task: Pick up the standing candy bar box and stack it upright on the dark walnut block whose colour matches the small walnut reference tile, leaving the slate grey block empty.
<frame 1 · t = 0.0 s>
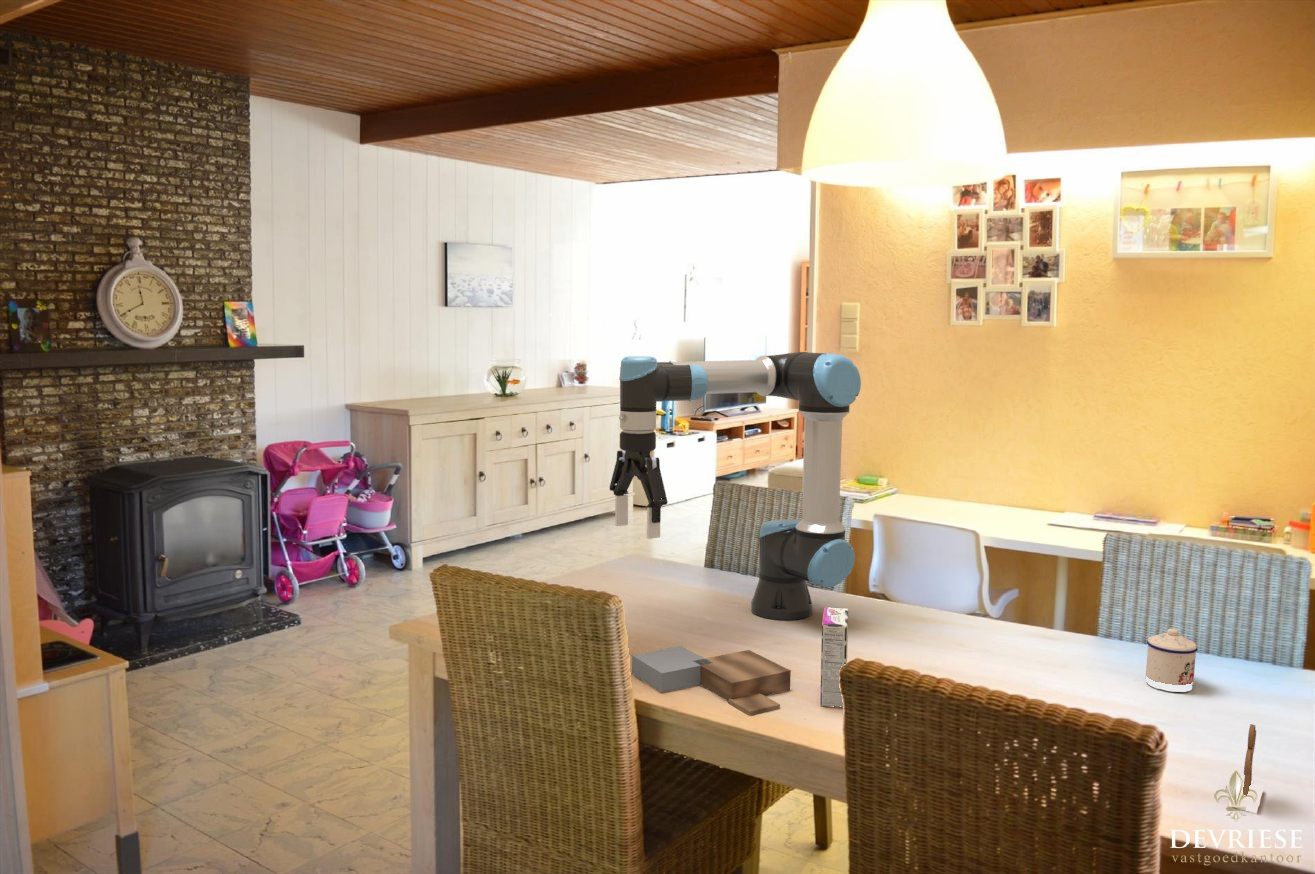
hand: (637, 531, 212), 28 cm above the table, tool pointing down, fingers open, 13 cm apart
walnut block: (740, 684, 202), on the table
gingerbread man figurine: (1245, 800, 156), on the table
slate grey block: (671, 677, 205), on the table
reference tile: (753, 705, 191), on the table
candy bar box: (832, 698, 196), on the table
teacup with lid: (1170, 684, 205), on the table
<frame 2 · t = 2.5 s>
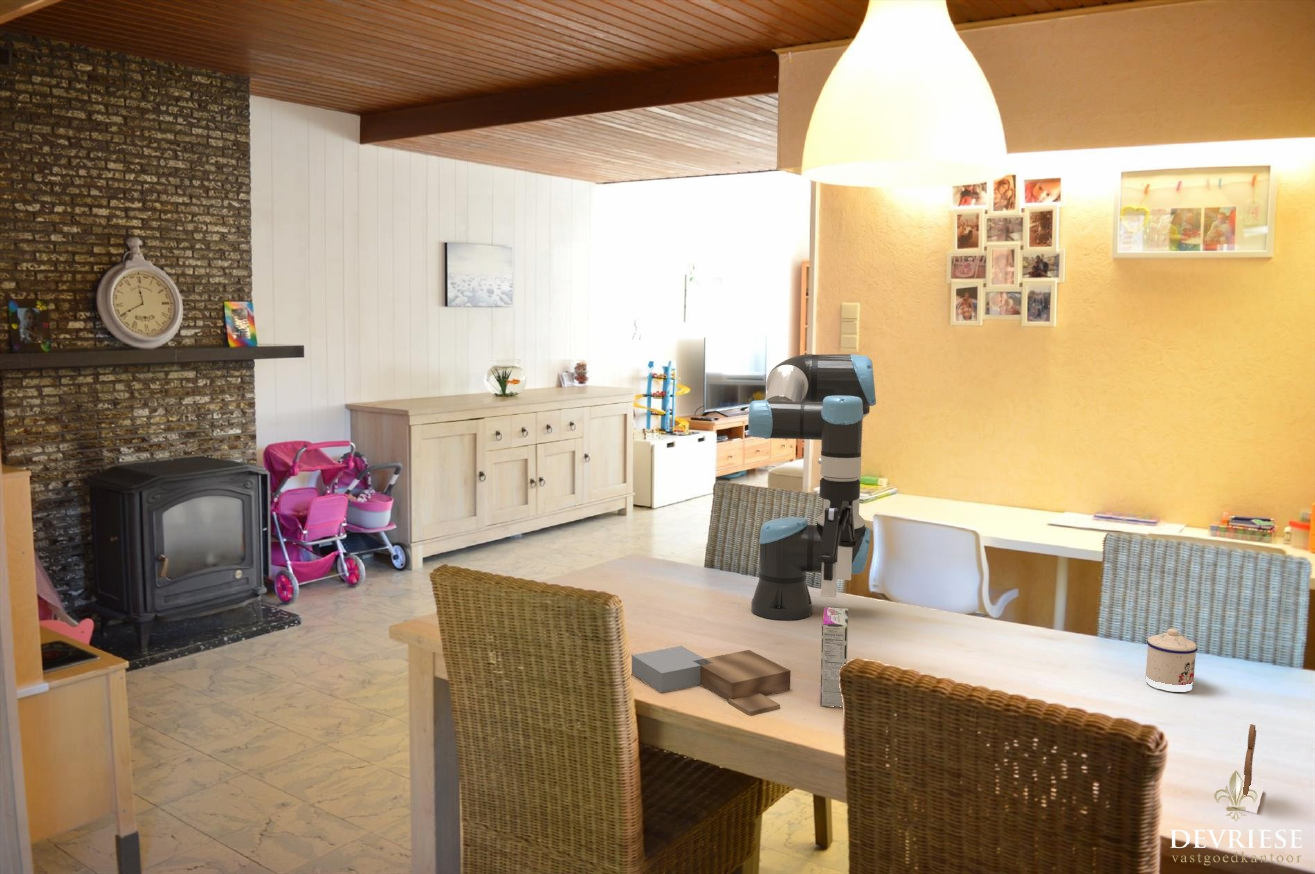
hand: (836, 587, 193), 22 cm above the table, tool pointing down, fingers open, 13 cm apart
nothing on the table moved.
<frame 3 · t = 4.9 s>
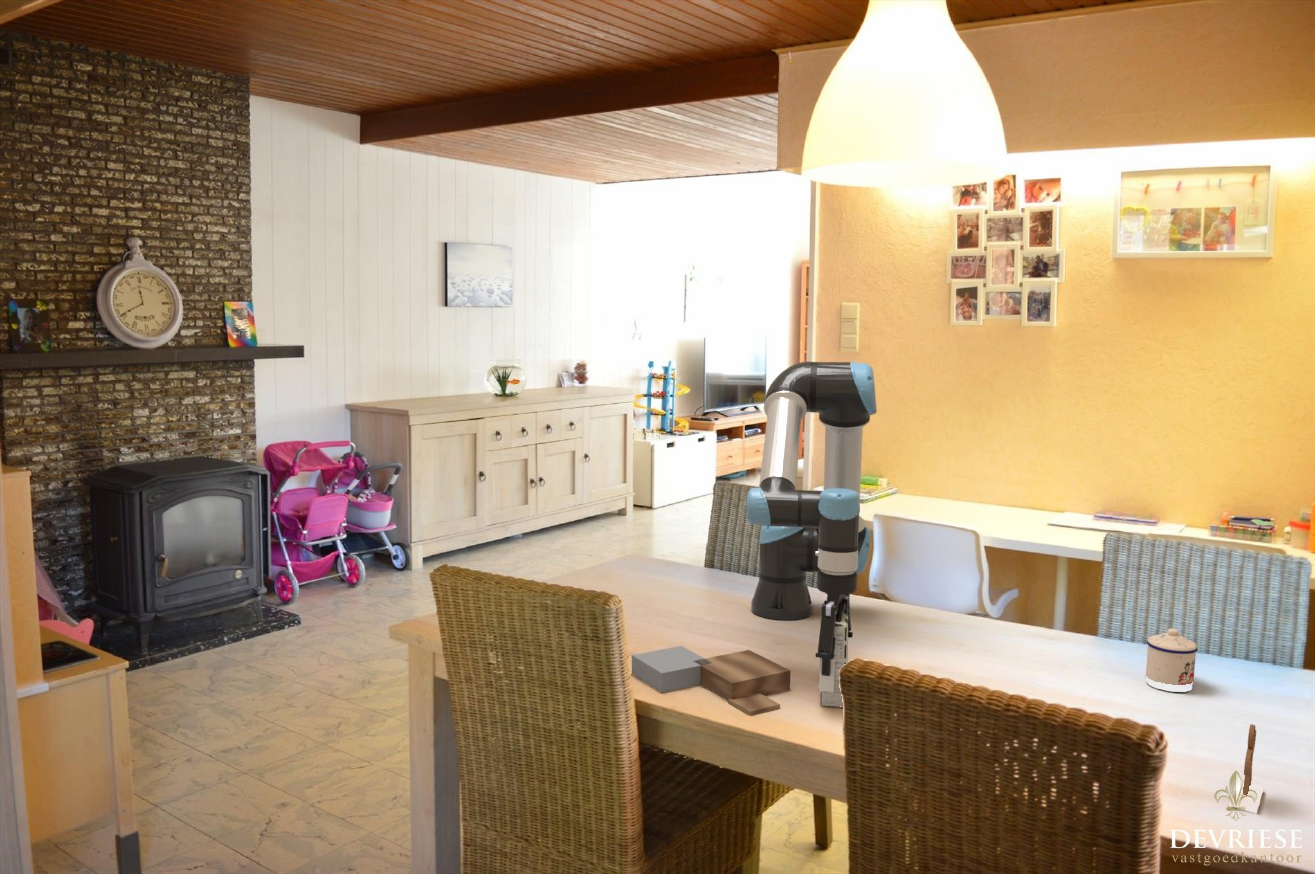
hand: (833, 679, 196), 3 cm above the table, tool pointing down, fingers closed on candy bar box, 12 cm apart
candy bar box: (832, 698, 196), on the table, touching gripper
everything else where it was.
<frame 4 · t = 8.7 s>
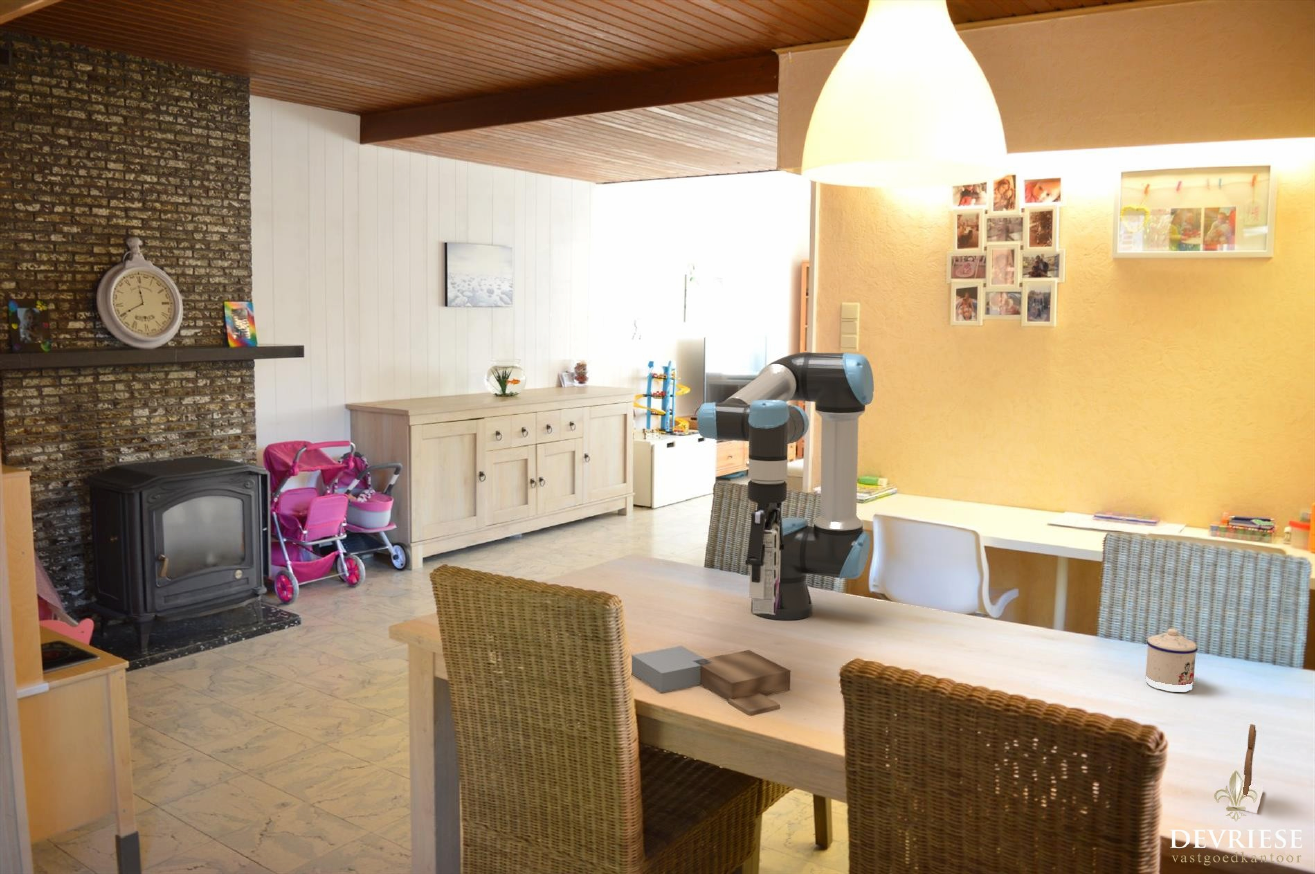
hand: (764, 589, 198), 20 cm above the table, tool pointing down, fingers closed on candy bar box, 11 cm apart
candy bar box: (764, 607, 199), point 16 cm above the table, touching gripper
everything else where it was.
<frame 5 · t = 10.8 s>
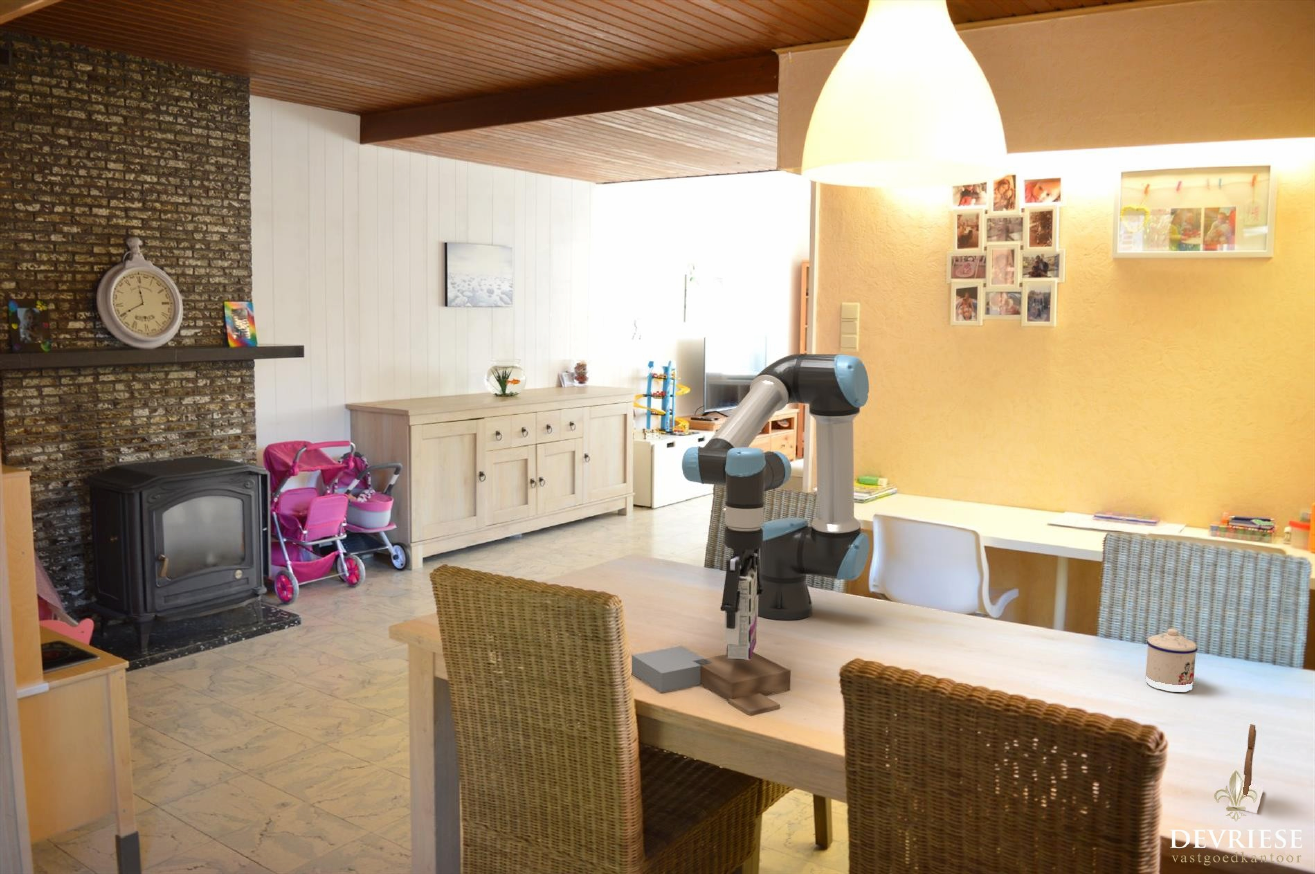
hand: (741, 634, 201), 10 cm above the table, tool pointing down, fingers closed on candy bar box, 11 cm apart
candy bar box: (740, 652, 201), point 7 cm above the table, touching gripper
everything else where it was.
when the fingers open (9 cm above the table, at t = 12.6 s): candy bar box drops 1 cm, resting on walnut block.
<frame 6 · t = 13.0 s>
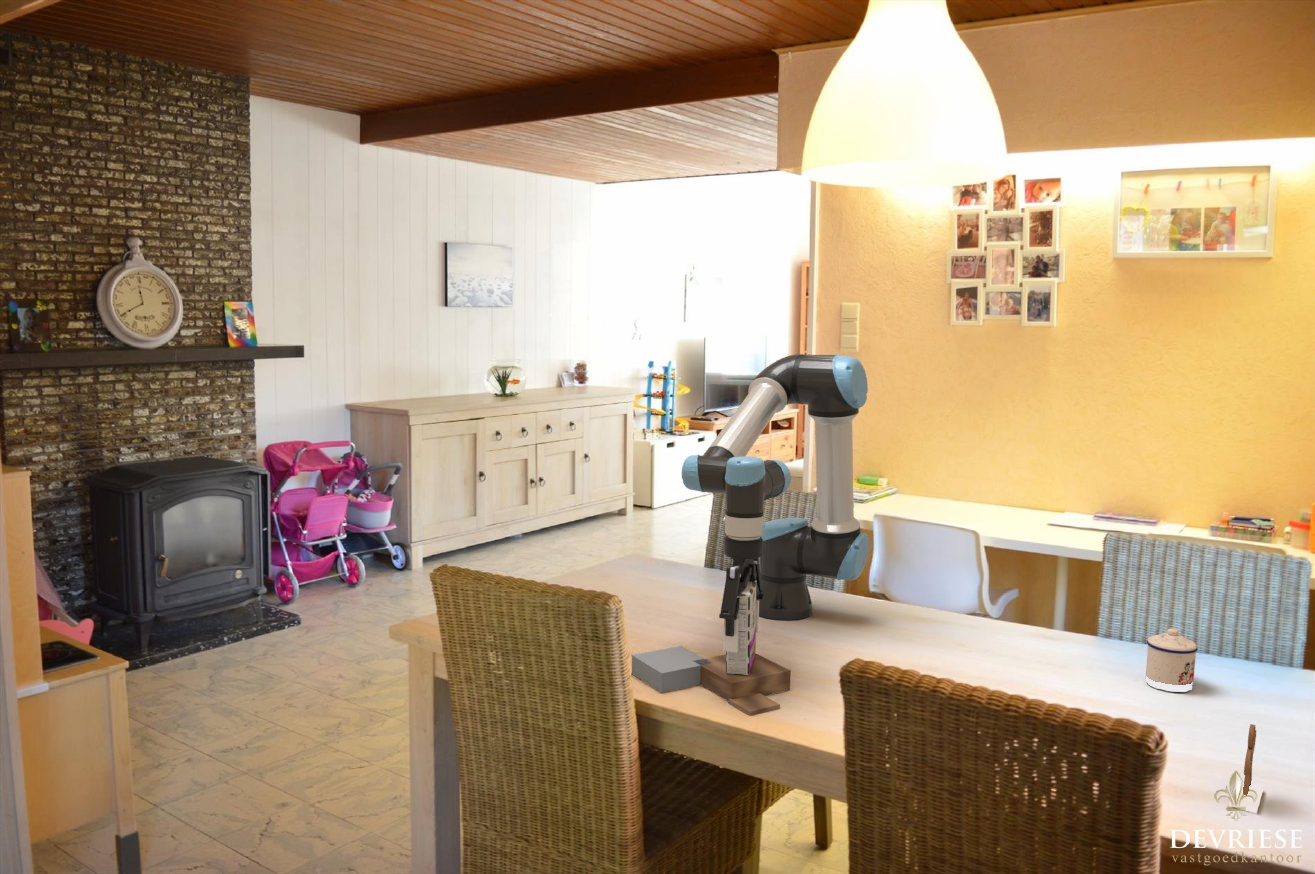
hand: (741, 640, 201), 9 cm above the table, tool pointing down, fingers open, 13 cm apart
candy bar box: (740, 666, 201), point 4 cm above the table, touching walnut block
everything else where it was.
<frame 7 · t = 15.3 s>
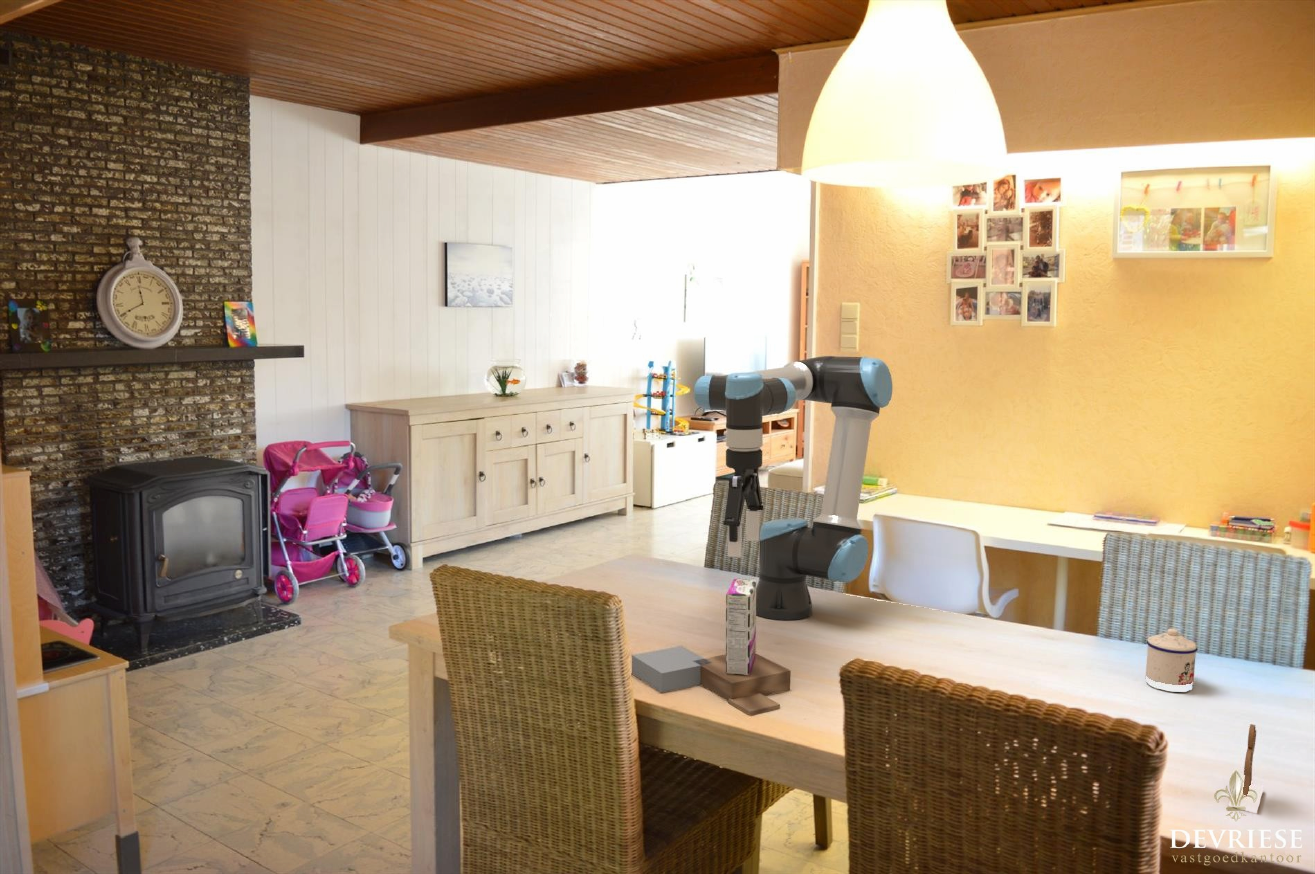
hand: (743, 548, 211), 25 cm above the table, tool pointing down, fingers open, 13 cm apart
nothing on the table moved.
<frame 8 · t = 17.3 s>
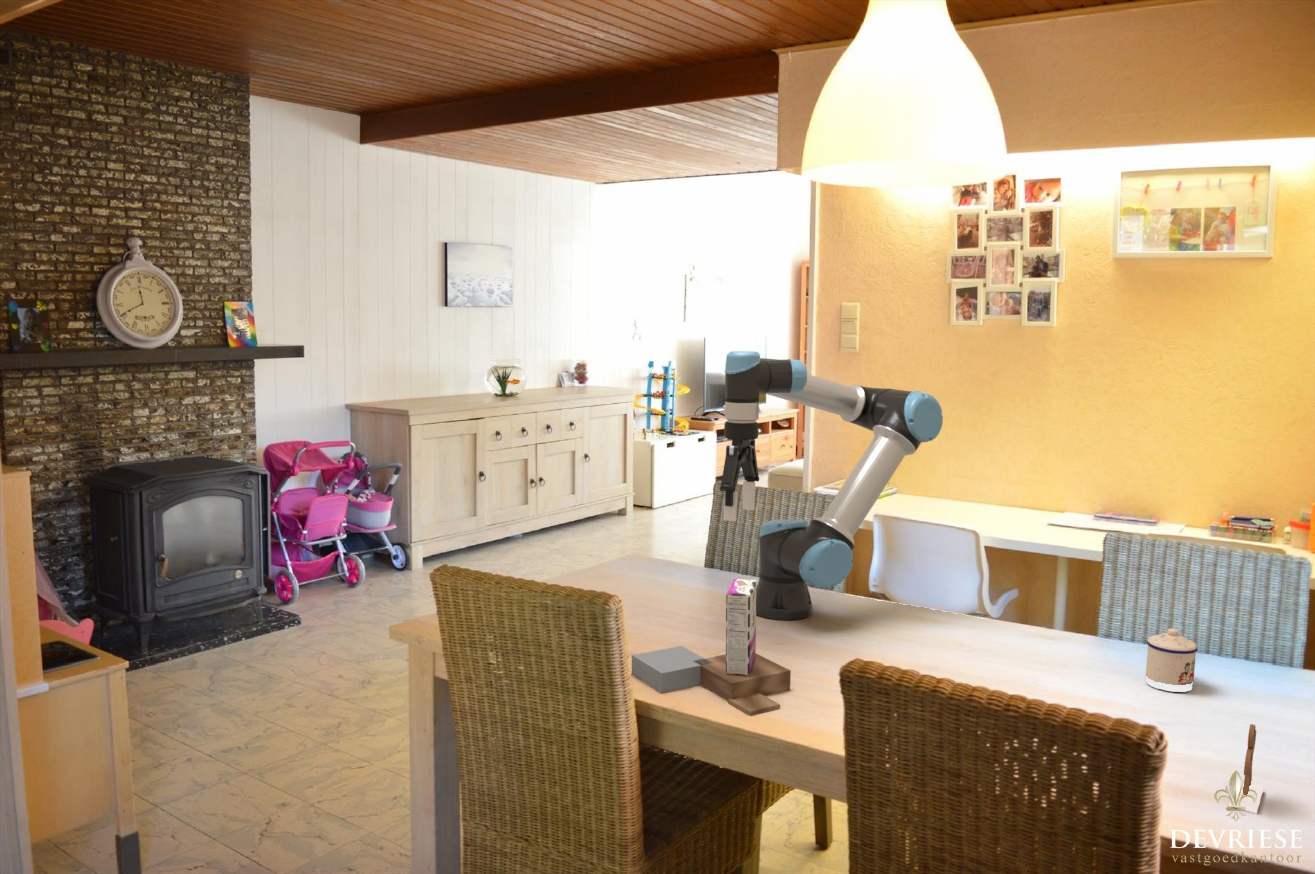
hand: (739, 515, 227), 29 cm above the table, tool pointing down, fingers open, 13 cm apart
nothing on the table moved.
at the end: candy bar box inside the target area on the walnut block (0.2 cm from its centre), point 3.8 cm above the walnut block's base; candy bar box tilted 0°; candy bar box touching walnut block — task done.
